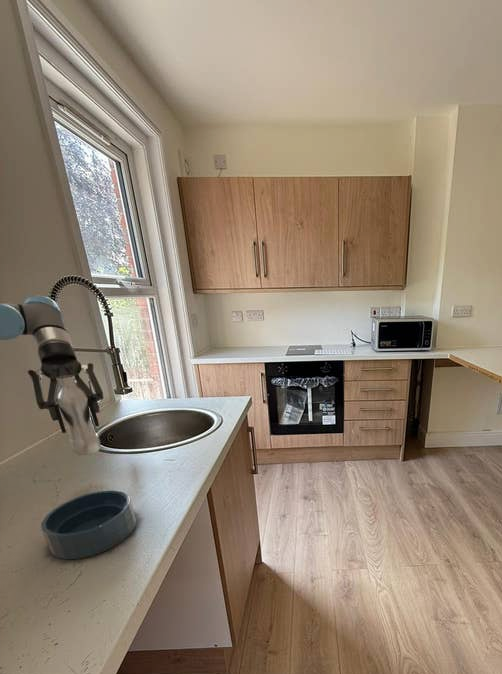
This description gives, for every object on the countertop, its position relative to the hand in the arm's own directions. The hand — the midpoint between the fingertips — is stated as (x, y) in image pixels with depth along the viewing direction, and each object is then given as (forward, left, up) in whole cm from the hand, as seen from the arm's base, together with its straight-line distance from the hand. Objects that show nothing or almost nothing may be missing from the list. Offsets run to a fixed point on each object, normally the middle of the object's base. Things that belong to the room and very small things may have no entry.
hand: (80, 426), depth 84 cm
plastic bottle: (-2, +3, -9) cm, 9 cm away
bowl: (+12, -23, -15) cm, 30 cm away
